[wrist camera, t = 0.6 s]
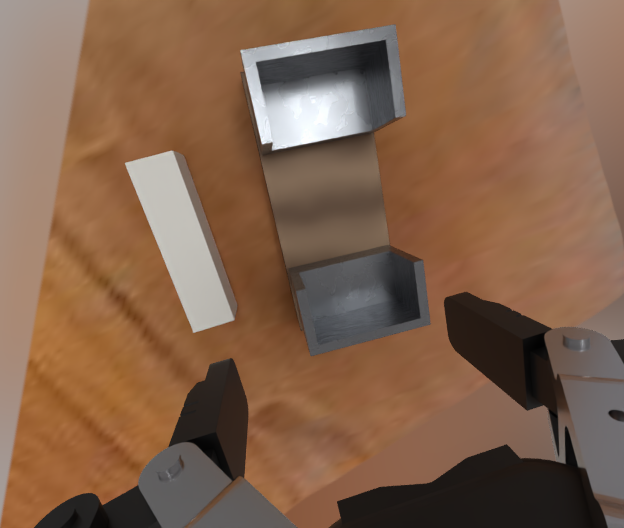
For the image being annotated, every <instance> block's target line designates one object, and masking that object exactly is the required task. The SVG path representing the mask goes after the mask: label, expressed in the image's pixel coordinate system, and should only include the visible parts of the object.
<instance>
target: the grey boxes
mask: <svg viewBox="0 0 624 528" xmlns="http://www.w3.org/2000/svg"><path fill="white" fill-rule="evenodd" d="M240 51H241V57H242V63H243V70H244V76H245V82H246V88H247V92H248V96H249V100H250V105H251V109H252V113H253V118H254V122H255V126H256V131H257V135H258V139H259V144H260V148H261V152H262V155H267V154H272V153H277V152H282V151H287V150H292V149H297V148H302V147H307V146H312V145H317V144H322V143H327V142H332V141H337V140H342V139H347V138H352V137H357V136H362V135H367V134H372V133H374V132H376V131H378V130H380V129H381V128H383V127H385V126H387V125H389V124H391V123H393V122H395V121H397V120H399V119H401V118H403V117H405V116H406V111H405V102H404V94H403V85H402V76H401V68H400V59H399V51H398V42H397V34H396V25H389V26H383V27H377V28H371V29H365V30H359V31H353V32H347V33H341V34H335V35H329V36H323V37H317V38H311V39H305V40H299V41H293V42H287V43H281V44H275V45H269V46H263V47H257V48H251V49H245V50H240ZM288 269H289V273H290V277H291V282H292V286H293V290H294V295H295V299H296V303H297V308H298V312H299V316H300V320H301V324H302V327H303V331H304V334H305V338H306V341H307V345H308V348H309V352H310V355H311V356H314V355H317V354H321V353H325V352H329V351H332V350H336V349H340V348H344V347H347V346H351V345H355V344H359V343H362V342H366V341H370V340H374V339H378V338H381V337H385V336H389V335H393V334H396V333H400V332H404V331H408V330H411V329H415V328H419V327H423V326H426V325H430V316H429V307H428V299H427V290H426V282H425V273H424V264H423V260H422V259H419V258H417V257H415V256H412V255H410V254H408V253H406V252H403V251H401V250H399V249H396V248H394V247H392V246H390V245H385V246H380V247H376V248H372V249H368V250H364V251H359V252H355V253H351V254H347V255H342V256H338V257H334V258H330V259H326V260H321V261H317V262H313V263H309V264H304V265H300V266H296V267H292V268H288Z"/></svg>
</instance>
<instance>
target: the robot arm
mask: <svg viewBox="0 0 624 528" xmlns="http://www.w3.org/2000/svg"><path fill="white" fill-rule="evenodd" d="M444 307H445V315H446V323H447V330H448V337H449V340H450V343H451V345H452V346H453V348H454V349H455V351H456V352H458V353H459V354H460V355H461V356H462V357H463V358H465V359H466V360H467V361H468V362H469V363H471V364H472V365H473V366H474V367H475V368H477V369H478V370H479V371H480V372H481V373H483V374H484V375H485V376H486V377H487V378H489V379H490V380H491V381H492V382H493V383H495V384H496V385H497V386H498V387H499V388H501V389H502V390H503V391H504V392H505V393H507V394H508V395H509V396H510V397H511V398H513V399H514V400H515V401H516V402H517V403H519V404H520V405H521V406H522V407H523V408H525V409H526V410H530V409H533V408H536V407H540V406H543V405H544V406H546V407H547V409H548V422H549V426H550V431H551V436H552V442H553V446H554V451H555V456H556V461H557V462H555V461H551V460H542V459H531V458H522V459H520V458H519V457H518V456H517V455H516V454H515V452H513V450H512V449H511V448H510V447H509V446H508V445H504V446H501V447H498V448H495V449H492V450H489V451H486V452H483V453H480V454H477V455H474V456H471V457H468V458H466V459H464V460H463V461H462V462H460V463H459V464H457V465H456V466H454V467H453V468H452V469H450V470H449V471H447V472H446V473H445V474H443V475H442V476H440V477H439V478H437V479H436V480H434V481H433V482H430V483H427V484H415V485H401V486H387V487H379V488H376V489H373V490H370V491H367V492H364V493H361V494H358V495H355V496H352V497H349V498H346V499H343V500H340V501H337V504H338V508H339V512H340V516H341V519H339V520H338V521H337V522H335V523H334V524H333V525H331V526H330V527H329V528H624V339H623V340H611V341H610V340H609V339H608V338H607V337H606V336H604V335H602V334H600V333H598V332H596V331H593V330H589V329H584V328H578V327H560V328H555V329H551V328H549V327H547V326H545V325H543V324H541V323H539V322H537V321H535V320H533V319H531V318H528V317H526V316H524V315H523V316H522V315H521V314H520V313H518V312H516V311H514V310H513V311H512V310H511V309H510V308H508V307H506V306H503V305H501V304H499V303H495V302H490V301H486V300H482V299H480V298H478V297H476V296H474V295H472V294H470V293H468V292H463V293H460V294H456V295H453V296H449V297H446V298H445V300H444ZM180 415H181V417H179V420H178V422H177V425H176V428H175V430H174V433H173V436H172V438H171V441H170V444H169V447H168V448H167V449H165V450H163V451H162V452H160V453H159V454H158V455H156V456H155V457H154V458H153V459H152V460H151V461H150V462H149V463H148V464H147V465H146V467H145V468H144V469H143V471H142V473H141V475H140V478H139V482H138V485H137V486H136V487H134V488H133V489H131V490H129V491H127V492H126V493H124V494H122V495H120V496H118V497H117V498H115V499H113V500H111V501H109V502H108V503H106V504H104V505H102V504H101V502H100V500H99V498H98V496H96V495H95V494H93V493H86V494H81V495H78V496H75V497H73V498H71V499H69V500H67V501H65V502H64V503H62V504H60V505H59V506H58V507H56V508H55V509H53V510H52V511H51V512H50V513H48V514H47V515H46V516H45V517H44V518H43V519H42V520H41V521H40V522H39V523H38V524H37V525H36V526H35V527H34V528H297V527H296V526H295V525H294V524H293V523H292V522H291V521H290V520H289V519H288V518H287V517H285V516H284V515H283V514H282V513H281V512H280V511H279V510H278V509H277V508H276V507H275V506H274V505H272V504H271V503H270V502H269V501H268V500H267V499H266V498H265V497H264V496H263V495H262V494H261V493H260V492H258V491H257V490H256V489H255V488H254V487H253V486H252V485H251V484H250V483H249V482H248V481H247V480H245V479H244V474H245V459H246V443H247V428H248V404H247V399H246V395H245V392H244V389H243V386H242V383H241V380H240V377H239V374H238V371H237V368H236V365H235V362H234V360H233V359H232V358H230V359H227V360H223V361H220V362H216V363H213V364H210V366H209V369H208V373H207V376H206V379H205V381H202V382H198V383H197V384H196V385H195V386H194V387H193V389H192V390H191V391H190V392H189V393H188V395H187V398H186V401H185V403H184V407H183V409H182V411H181V414H180Z"/></svg>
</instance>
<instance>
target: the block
mask: <svg viewBox="0 0 624 528" xmlns="http://www.w3.org/2000/svg"><path fill="white" fill-rule="evenodd" d="M125 165H126V168H127V170H128V172H129V175H130V177H131V180H132V182H133V185H134V187H135V190H136V192H137V195H138V197H139V200H140V202H141V204H142V207H143V209H144V212H145V214H146V217H147V219H148V222H149V224H150V227H151V229H152V231H153V234H154V236H155V239H156V241H157V244H158V246H159V249H160V251H161V254H162V256H163V259H164V261H165V263H166V266H167V268H168V271H169V273H170V276H171V278H172V281H173V283H174V286H175V288H176V291H177V293H178V295H179V298H180V300H181V303H182V305H183V308H184V310H185V313H186V315H187V318H188V320H189V322H190V325H191V327H192V330H193V332H194V333H195V332H198V331H201V330H204V329H208V328H211V327H214V326H217V325H221V324H224V323H227V322H230V321H233V320H235V316H236V311H237V307H238V305H237V302H236V300H235V297H234V294H233V291H232V288H231V286H230V283H229V280H228V277H227V274H226V272H225V269H224V266H223V263H222V260H221V258H220V255H219V252H218V249H217V246H216V244H215V241H214V238H213V235H212V232H211V230H210V227H209V224H208V221H207V218H206V216H205V213H204V210H203V207H202V204H201V202H200V199H199V196H198V193H197V190H196V188H195V185H194V182H193V179H192V176H191V174H190V171H189V168H188V165H187V162H186V160H185V157H184V155H182V154H180V153H177V152H175V151H173V150H172V151H169V152H165V153H161V154H157V155H153V156H150V157H146V158H142V159H138V160H134V161H131V162H127V163H125Z"/></svg>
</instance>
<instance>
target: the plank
mask: <svg viewBox="0 0 624 528" xmlns="http://www.w3.org/2000/svg"><path fill="white" fill-rule="evenodd" d="M241 77H242V82H243V86H244V90H245V95H246V99H247V103H248V108H249V112H250V116H251V120H252V125H253V129H254V133H255V138H256V142H257V146H258V150H259V155H260V159H261V163H262V167H263V172H264V176H265V180H266V185H267V189H268V193H269V197H270V202H271V206H272V210H273V214H274V219H275V223H276V227H277V232H278V236H279V240H280V244H281V249H282V253H283V257H284V262H285V266H286V270H287V274H288V279H289V283H290V287H291V291H292V296H293V300H294V304H295V309H296V313H297V317H298V321H299V325H300V329H301V331H302V330H303V327H302V324H301V320H300V316H299V312H298V308H297V303H296V299H295V295H294V290H293V286H292V282H291V277H290V273H289V269H288V268H292V267H296V266H300V265H304V264H309V263H313V262H317V261H321V260H326V259H330V258H334V257H338V256H342V255H347V254H351V253H355V252H359V251H364V250H368V249H372V248H376V247H380V246H385V245H390V243H389V236H388V229H387V222H386V215H385V208H384V201H383V194H382V187H381V180H380V173H379V166H378V159H377V152H376V145H375V138H374V133H372V134H367V135H362V136H357V137H352V138H347V139H342V140H337V141H332V142H327V143H322V144H317V145H312V146H307V147H302V148H297V149H292V150H287V151H282V152H277V153H272V154H267V155H262V152H261V148H260V144H259V139H258V135H257V131H256V126H255V122H254V118H253V113H252V109H251V105H250V100H249V96H248V92H247V88H246V82H245V76H244V72H241Z"/></svg>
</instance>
